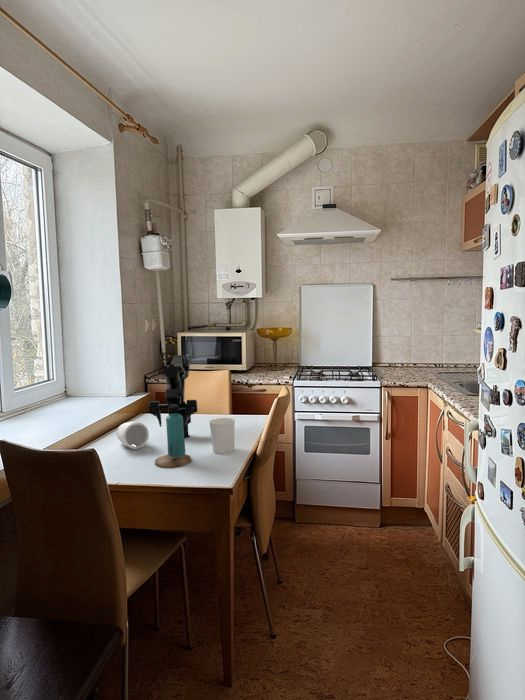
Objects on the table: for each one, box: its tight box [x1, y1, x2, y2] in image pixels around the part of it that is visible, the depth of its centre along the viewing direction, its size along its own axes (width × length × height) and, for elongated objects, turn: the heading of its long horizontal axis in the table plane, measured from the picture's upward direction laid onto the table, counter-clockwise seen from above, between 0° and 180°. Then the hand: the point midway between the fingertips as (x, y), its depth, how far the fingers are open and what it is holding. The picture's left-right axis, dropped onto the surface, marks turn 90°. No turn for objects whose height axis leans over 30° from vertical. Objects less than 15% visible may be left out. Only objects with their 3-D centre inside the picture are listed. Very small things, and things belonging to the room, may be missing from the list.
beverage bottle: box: [165, 405, 186, 457], centre depth 173 cm, size 6×7×20 cm
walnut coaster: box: [154, 453, 192, 469], centre depth 173 cm, size 13×13×1 cm
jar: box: [116, 421, 150, 450], centre depth 195 cm, size 11×10×15 cm
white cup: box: [209, 417, 236, 455], centre depth 184 cm, size 10×10×12 cm
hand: (172, 425), depth 180 cm, fingers open, 9 cm apart
